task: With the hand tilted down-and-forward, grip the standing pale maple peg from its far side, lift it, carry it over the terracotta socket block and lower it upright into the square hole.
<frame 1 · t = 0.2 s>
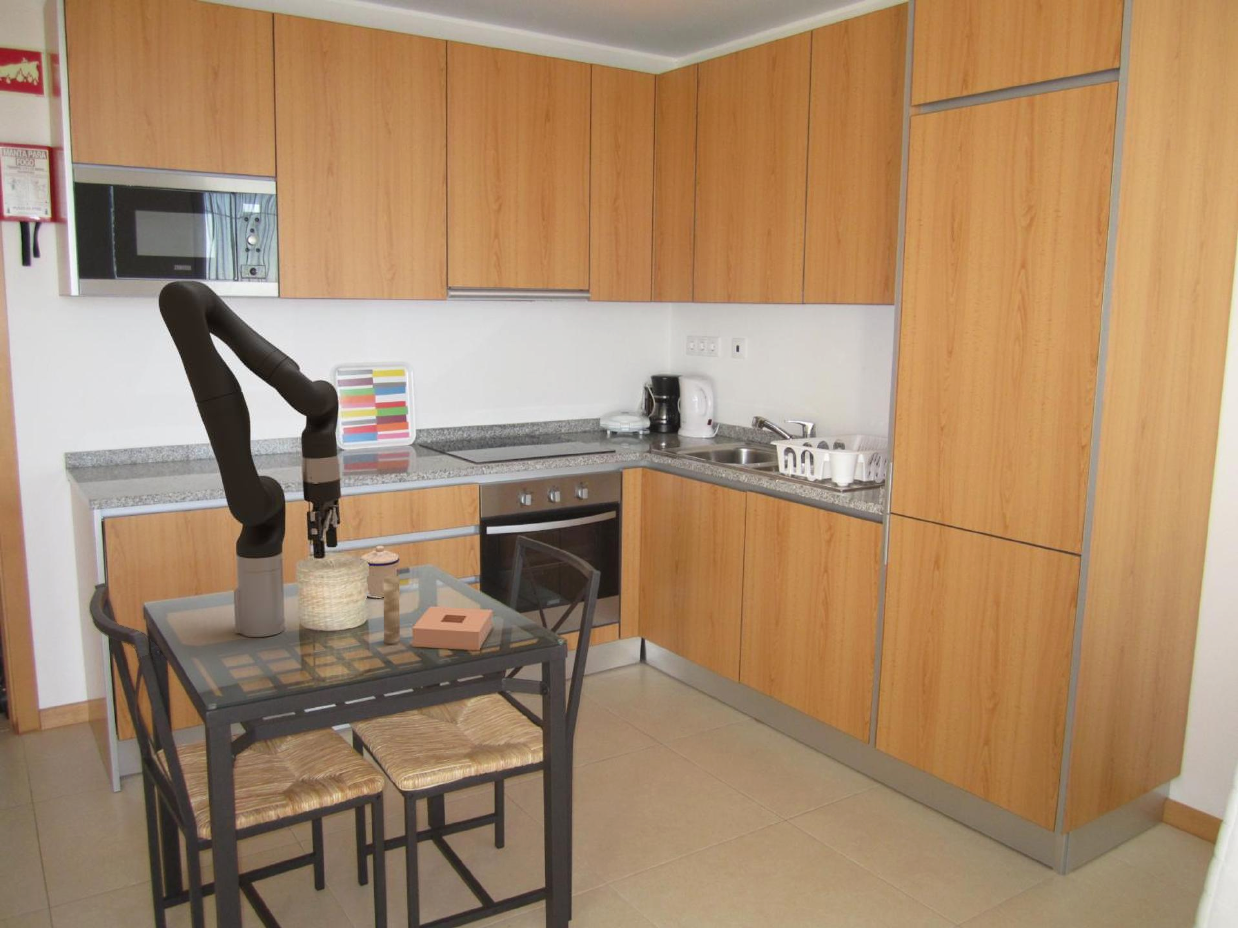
hand: (325, 552, 214), 18 cm above the table, tool pointing down, fingers open, 8 cm apart
socket block: (453, 636, 218), on the table
peg: (391, 641, 214), on the table
tan lidded jar: (378, 592, 246), on the table
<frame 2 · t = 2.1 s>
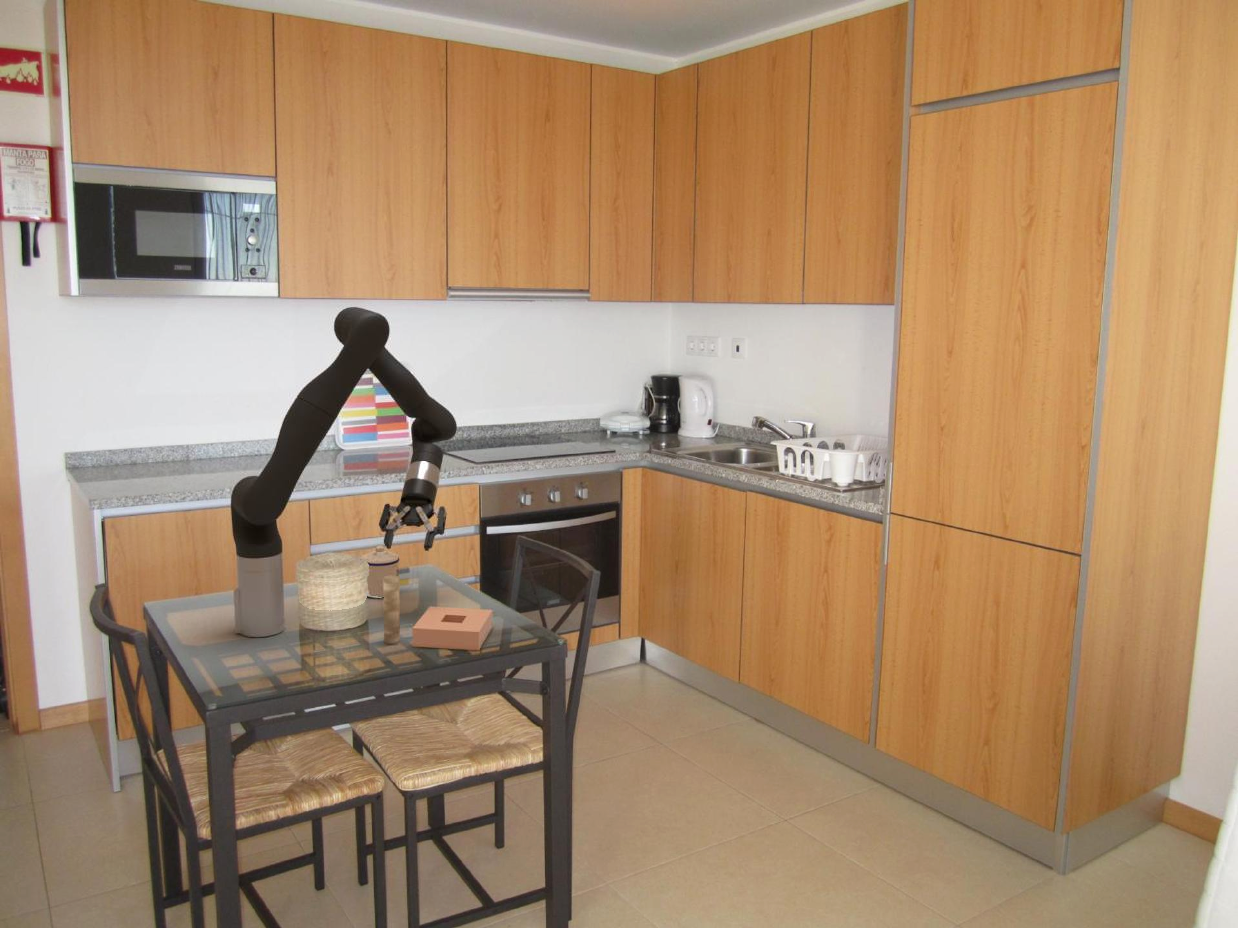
hand: (407, 548, 222), 17 cm above the table, tool tilted 45°, fingers open, 8 cm apart
nothing on the table moved.
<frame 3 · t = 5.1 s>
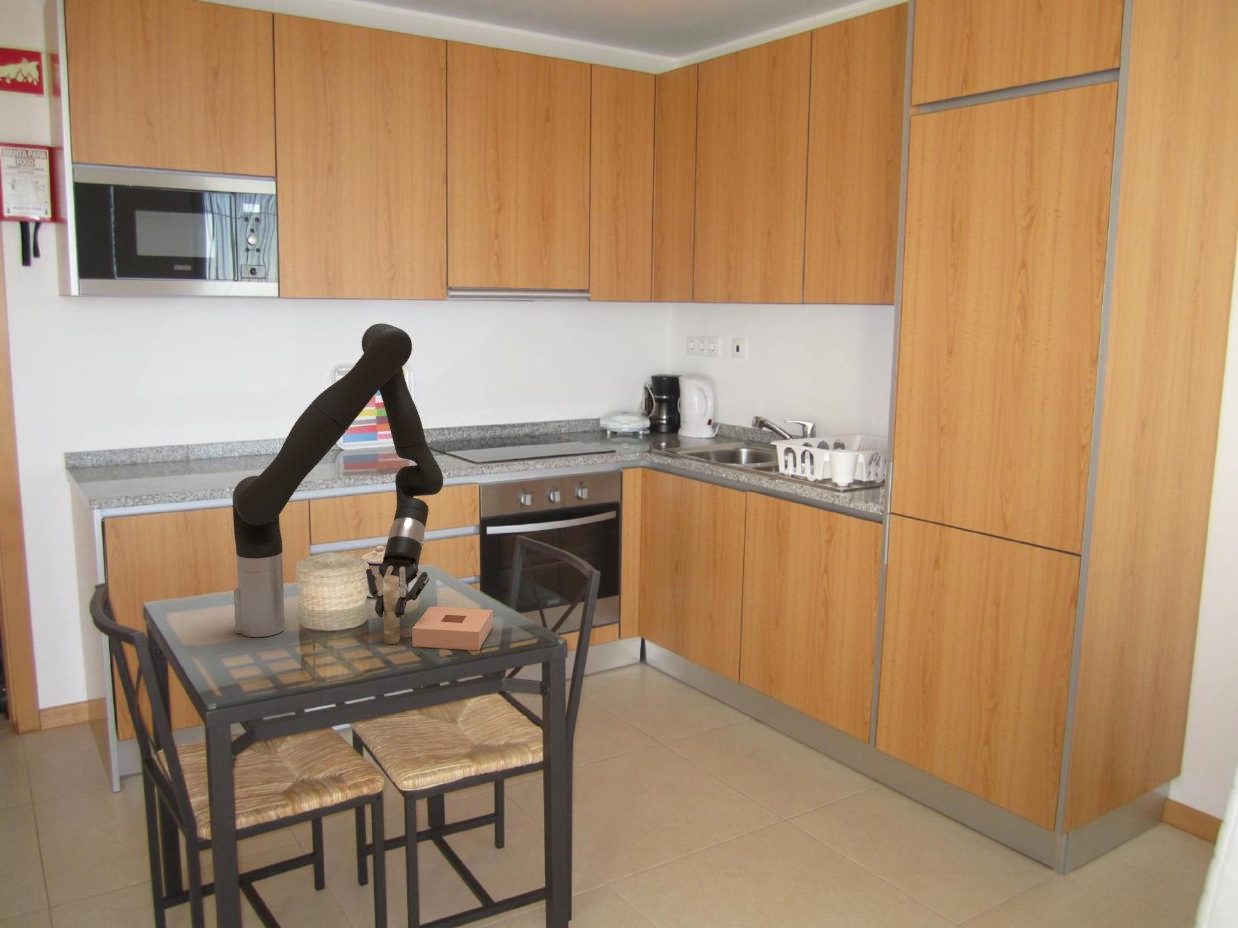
hand: (388, 615, 211), 6 cm above the table, tool tilted 45°, fingers closed on peg, 3 cm apart
peg: (391, 641, 214), on the table, touching gripper
everything else where it was.
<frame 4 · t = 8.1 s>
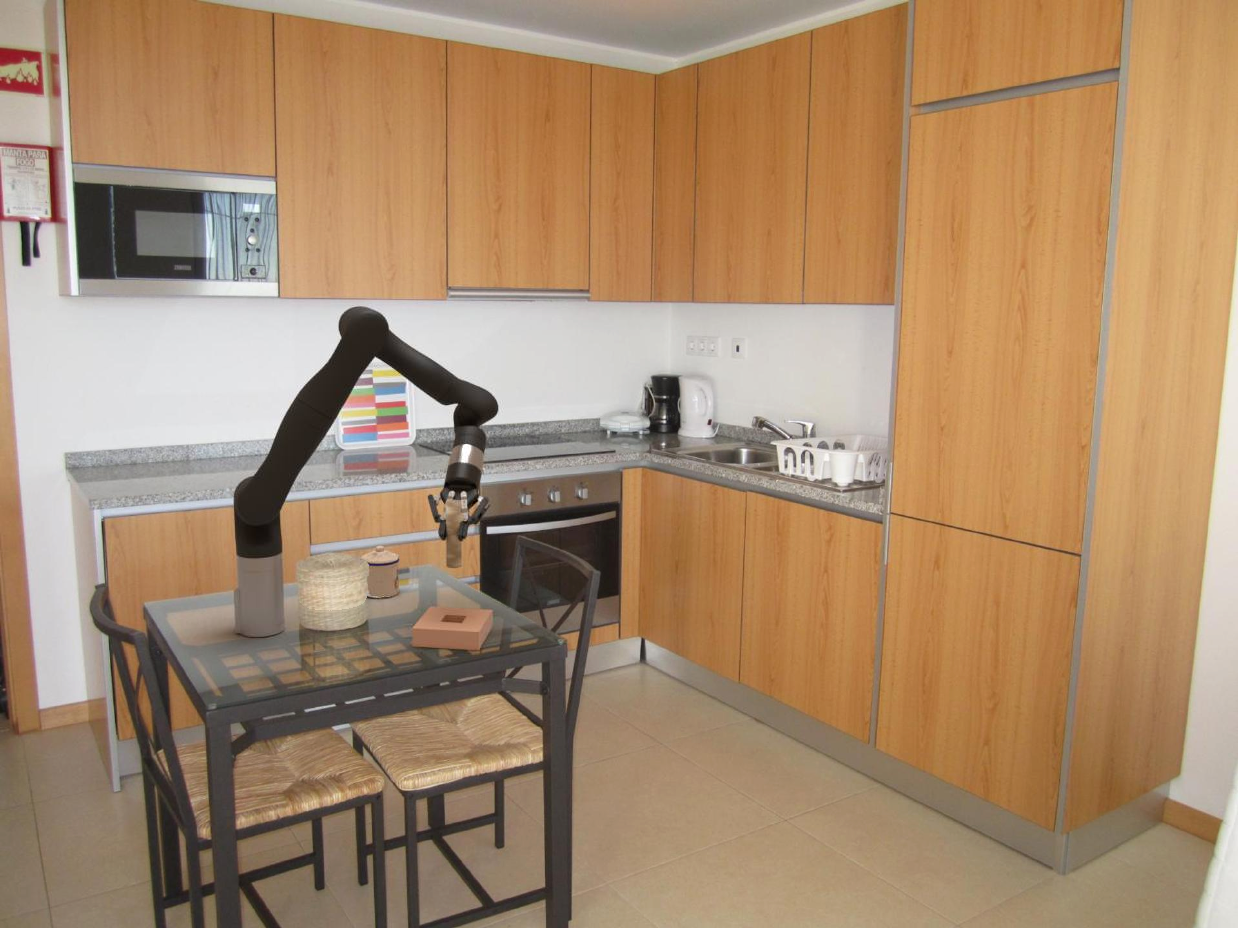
hand: (451, 538, 212), 22 cm above the table, tool tilted 45°, fingers closed on peg, 3 cm apart
peg: (454, 565, 215), point 16 cm above the table, touching gripper
everything else where it was.
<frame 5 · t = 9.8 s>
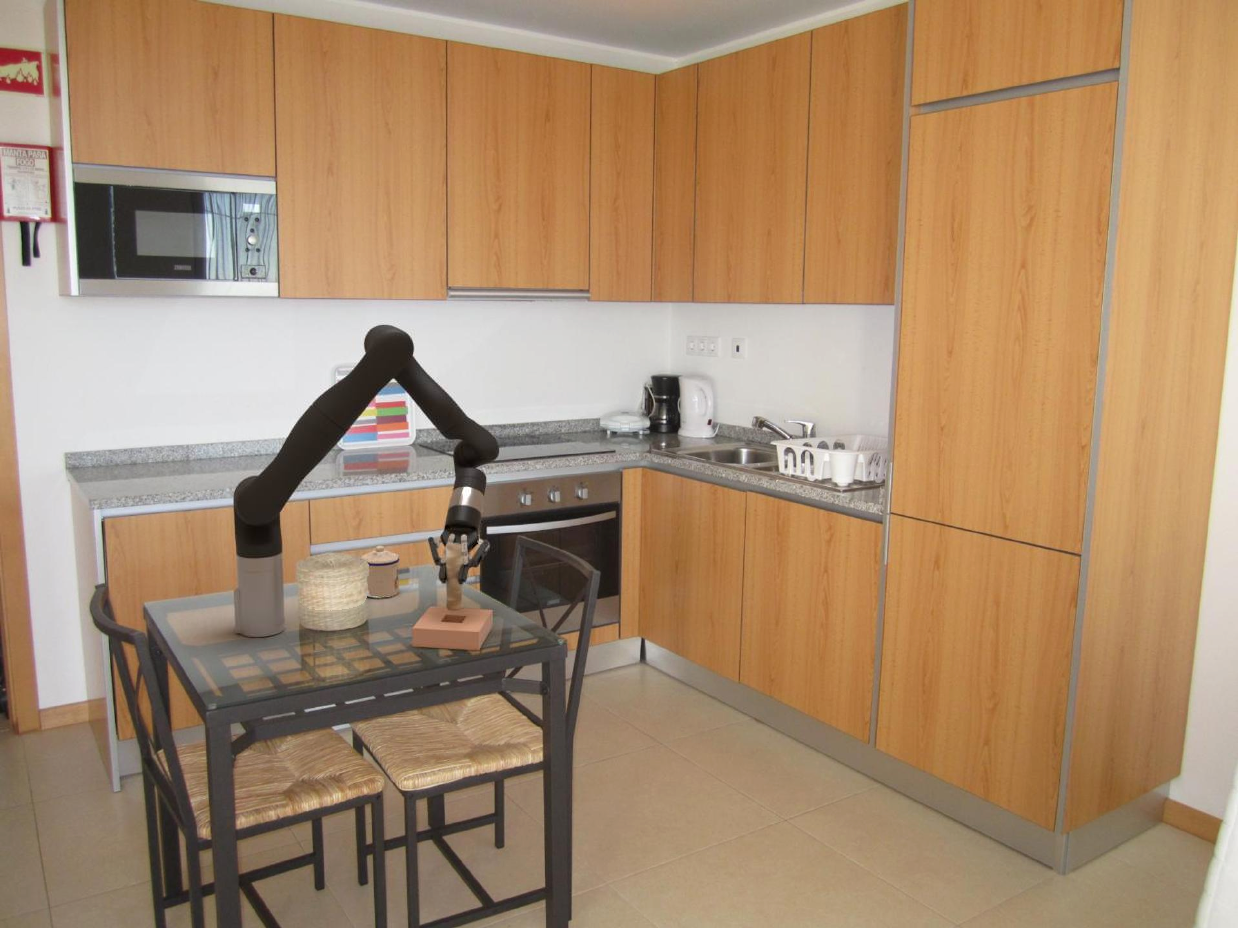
hand: (451, 582, 213), 13 cm above the table, tool tilted 45°, fingers closed on peg, 3 cm apart
peg: (454, 608, 217), point 6 cm above the table, touching gripper
everything else where it was.
when the fingers open (8 cm above the table, at t = 11.1 s): peg drops 1 cm, resting in socket block.
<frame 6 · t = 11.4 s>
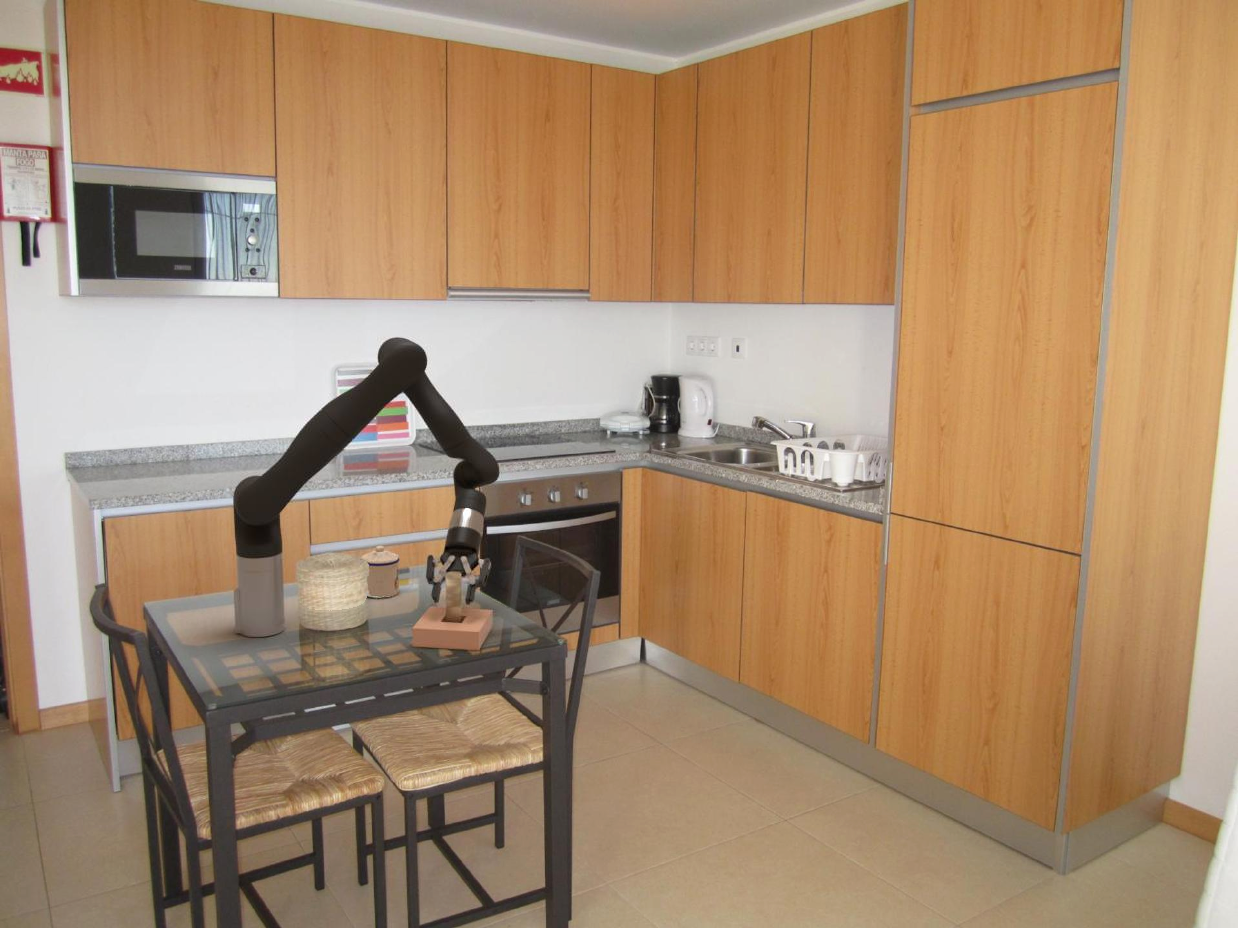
hand: (451, 601, 215), 8 cm above the table, tool tilted 45°, fingers open, 6 cm apart
peg: (453, 636, 218), resting in socket block
everything else where it was.
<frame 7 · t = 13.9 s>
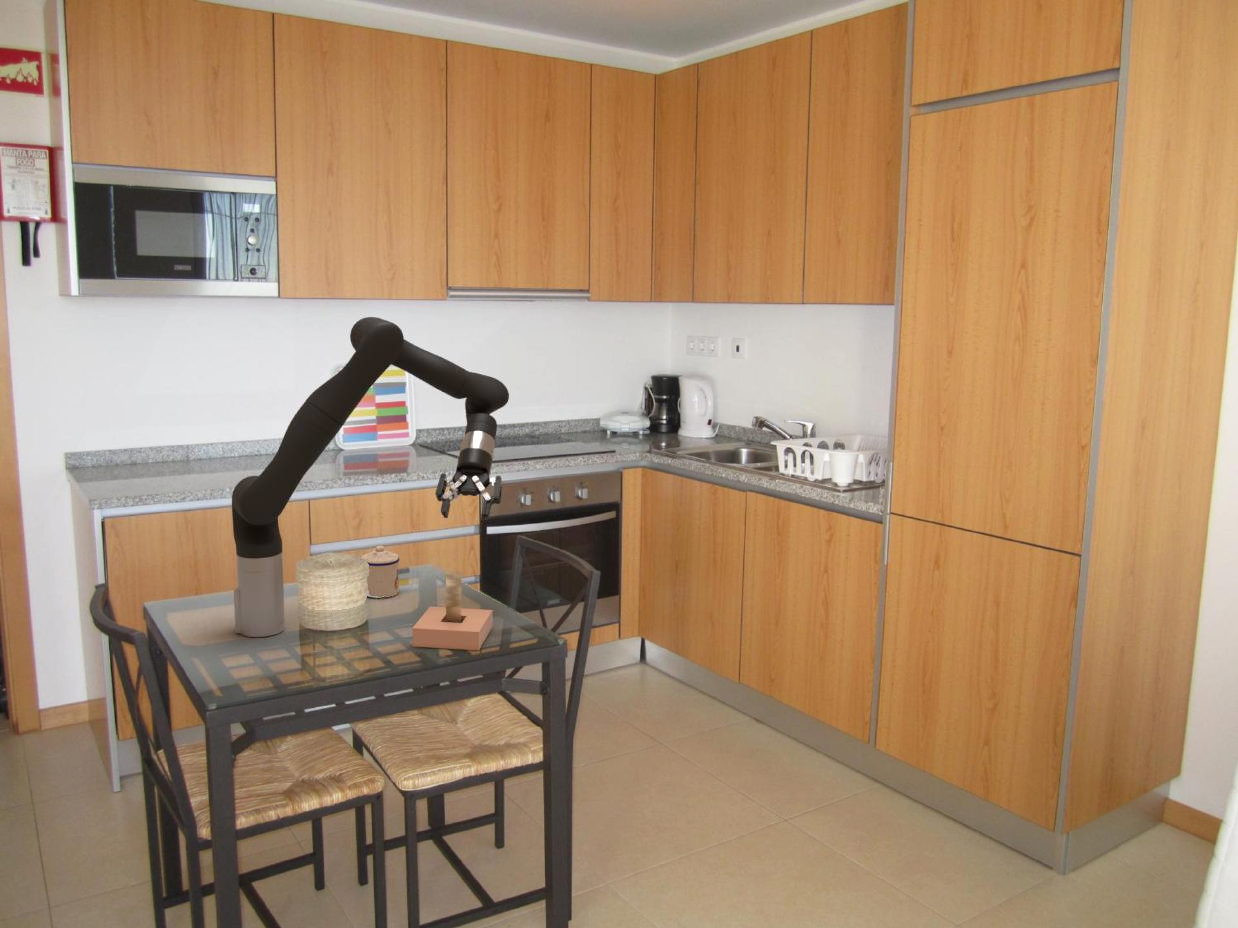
hand: (464, 517, 221), 24 cm above the table, tool tilted 45°, fingers open, 8 cm apart
nothing on the table moved.
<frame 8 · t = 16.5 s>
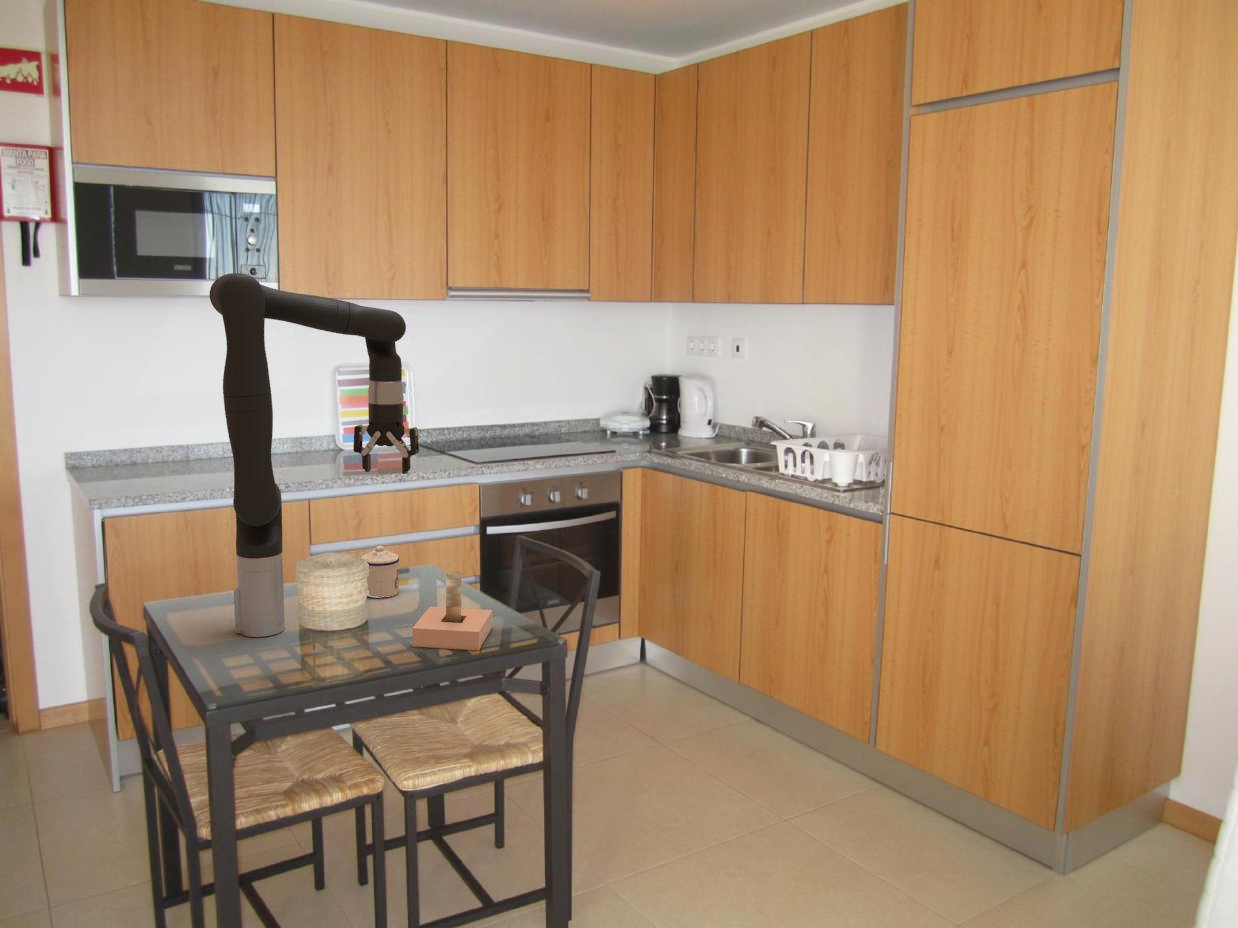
hand: (386, 472, 228), 32 cm above the table, tool pointing down, fingers open, 8 cm apart
nothing on the table moved.
at the end: peg 0.1 cm off-centre on the socket block, point 0.0 cm above the socket block's base; peg tilted 0°; the gripper is holding nothing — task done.
